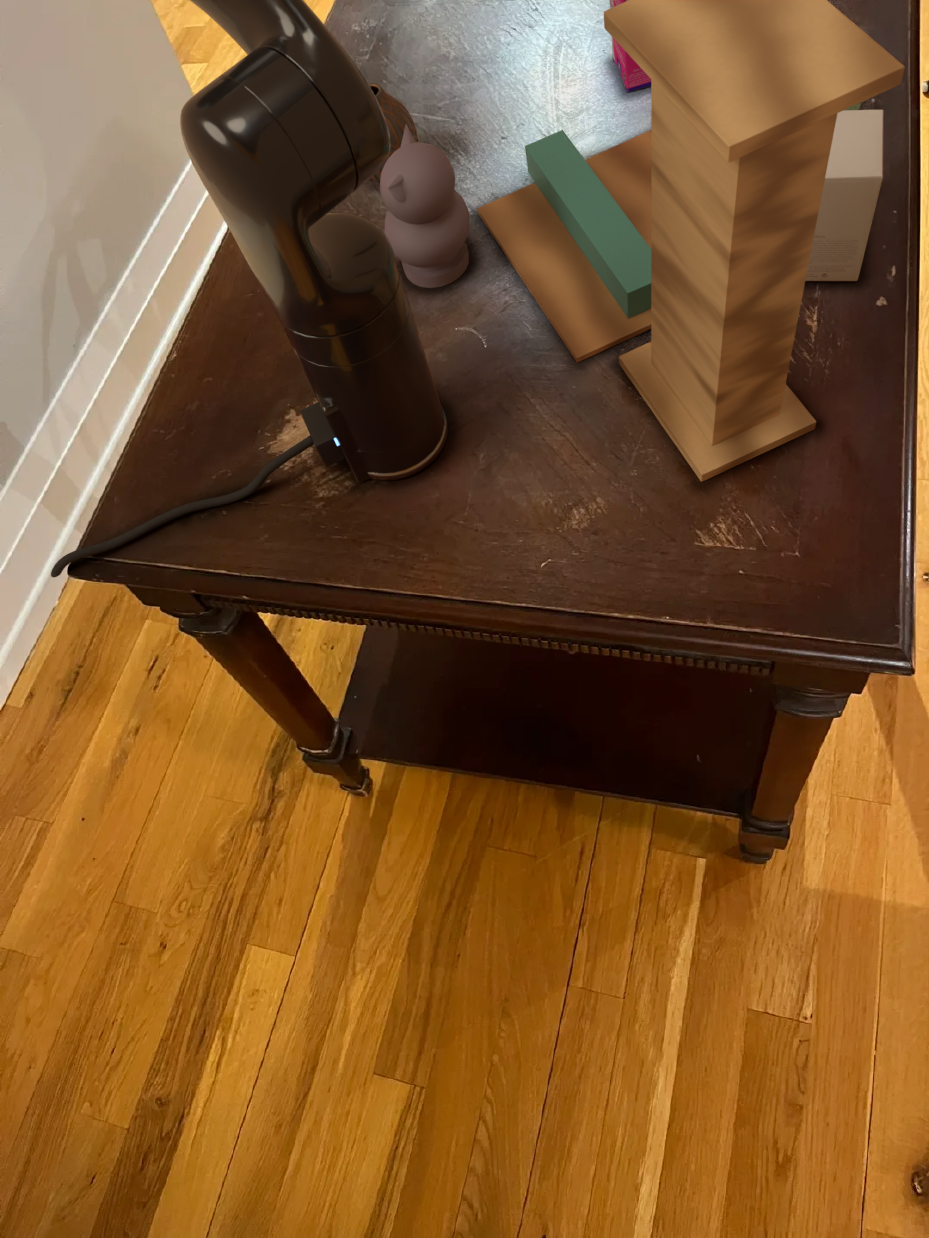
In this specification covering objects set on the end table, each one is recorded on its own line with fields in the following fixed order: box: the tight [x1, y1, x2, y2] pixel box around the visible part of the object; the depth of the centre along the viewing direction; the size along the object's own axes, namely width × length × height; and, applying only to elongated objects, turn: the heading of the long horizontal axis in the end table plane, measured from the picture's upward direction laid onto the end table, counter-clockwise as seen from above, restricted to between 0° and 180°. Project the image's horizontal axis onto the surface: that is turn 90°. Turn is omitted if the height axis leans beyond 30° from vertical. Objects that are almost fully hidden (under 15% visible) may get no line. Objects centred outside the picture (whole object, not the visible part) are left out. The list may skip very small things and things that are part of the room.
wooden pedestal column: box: [603, 0, 905, 483], centre depth 64 cm, size 10×14×30 cm
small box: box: [805, 109, 885, 282], centre depth 77 cm, size 8×6×10 cm
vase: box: [368, 82, 419, 183], centre depth 93 cm, size 7×7×9 cm
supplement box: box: [608, 0, 651, 93], centre depth 91 cm, size 6×6×12 cm
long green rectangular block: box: [524, 129, 651, 318], centre depth 86 cm, size 4×22×3 cm, turn 22°
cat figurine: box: [379, 124, 470, 289], centre depth 84 cm, size 8×8×12 cm
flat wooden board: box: [476, 129, 651, 363], centre depth 86 cm, size 20×22×1 cm
